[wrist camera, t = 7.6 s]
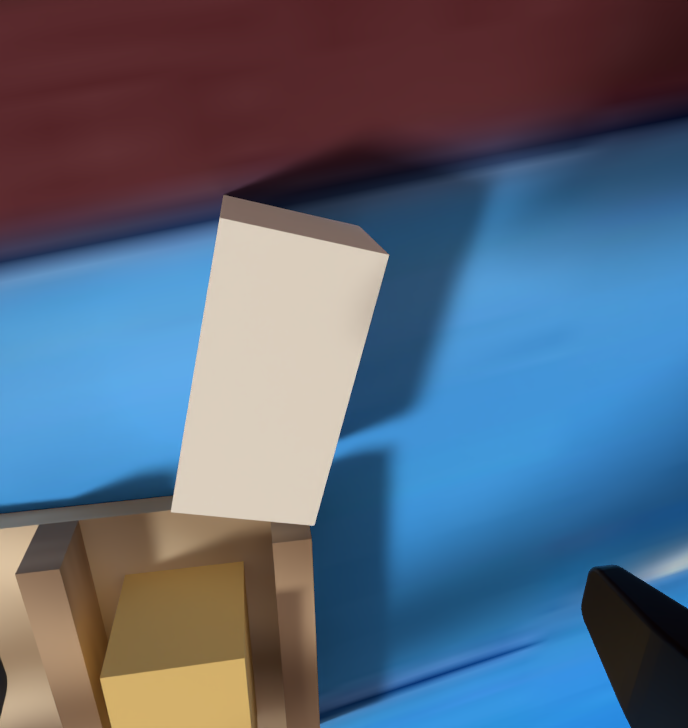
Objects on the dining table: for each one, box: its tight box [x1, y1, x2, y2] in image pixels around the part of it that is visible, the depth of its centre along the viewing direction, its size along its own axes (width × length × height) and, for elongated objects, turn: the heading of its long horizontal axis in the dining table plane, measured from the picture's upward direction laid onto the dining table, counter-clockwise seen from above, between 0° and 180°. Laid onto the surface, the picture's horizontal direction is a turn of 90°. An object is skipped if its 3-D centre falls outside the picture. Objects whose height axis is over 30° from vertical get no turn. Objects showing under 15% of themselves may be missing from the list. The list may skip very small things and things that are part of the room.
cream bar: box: [171, 195, 389, 526], centre depth 17 cm, size 8×4×4 cm, turn 165°
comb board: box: [0, 496, 320, 728], centre depth 21 cm, size 13×16×3 cm
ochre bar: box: [100, 561, 258, 728], centre depth 20 cm, size 8×4×4 cm, turn 0°
